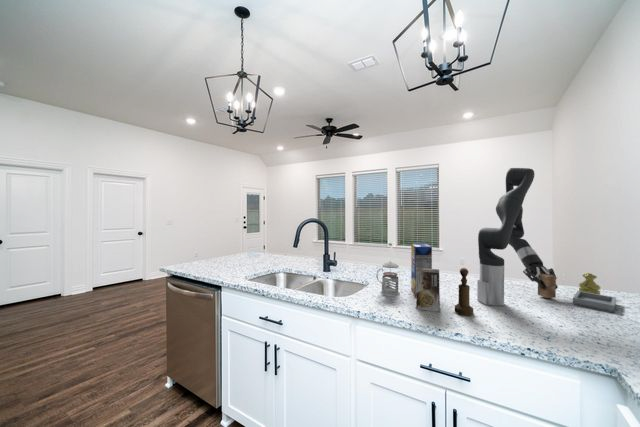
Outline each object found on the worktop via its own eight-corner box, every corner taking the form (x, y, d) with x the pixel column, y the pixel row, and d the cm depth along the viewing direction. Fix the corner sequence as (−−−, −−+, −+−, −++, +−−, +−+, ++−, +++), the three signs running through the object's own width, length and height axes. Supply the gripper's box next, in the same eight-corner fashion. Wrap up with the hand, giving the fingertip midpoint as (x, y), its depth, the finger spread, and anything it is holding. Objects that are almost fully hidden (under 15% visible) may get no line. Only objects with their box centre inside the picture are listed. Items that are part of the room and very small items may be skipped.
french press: (403, 296, 126) (403, 244, 126) (378, 296, 126) (378, 244, 126) (397, 290, 136) (397, 241, 135) (374, 290, 136) (374, 241, 136)
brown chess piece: (471, 311, 108) (471, 267, 107) (475, 317, 102) (475, 270, 101) (453, 309, 110) (453, 266, 110) (456, 314, 104) (456, 269, 103)
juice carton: (411, 289, 137) (411, 243, 137) (426, 290, 136) (426, 243, 135) (415, 296, 125) (415, 246, 125) (431, 297, 124) (431, 247, 124)
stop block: (546, 297, 121) (546, 276, 121) (537, 294, 125) (538, 273, 125) (555, 297, 121) (555, 276, 121) (546, 294, 125) (547, 273, 125)
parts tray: (614, 312, 105) (614, 305, 105) (572, 304, 114) (572, 297, 114) (615, 304, 115) (616, 297, 115) (577, 297, 124) (577, 290, 124)
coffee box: (439, 306, 112) (439, 269, 112) (439, 312, 107) (439, 272, 106) (417, 303, 116) (417, 267, 116) (415, 308, 110) (415, 270, 110)
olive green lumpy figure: (590, 291, 132) (590, 271, 132) (605, 296, 125) (605, 275, 125) (574, 291, 133) (574, 271, 133) (588, 296, 126) (588, 275, 125)
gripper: (519, 253, 130) (540, 284, 118) (547, 253, 131) (571, 284, 119) (511, 262, 136) (530, 292, 124) (538, 262, 136) (560, 292, 124)
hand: (550, 288), depth 121 cm, fingers closed on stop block, 4 cm apart
